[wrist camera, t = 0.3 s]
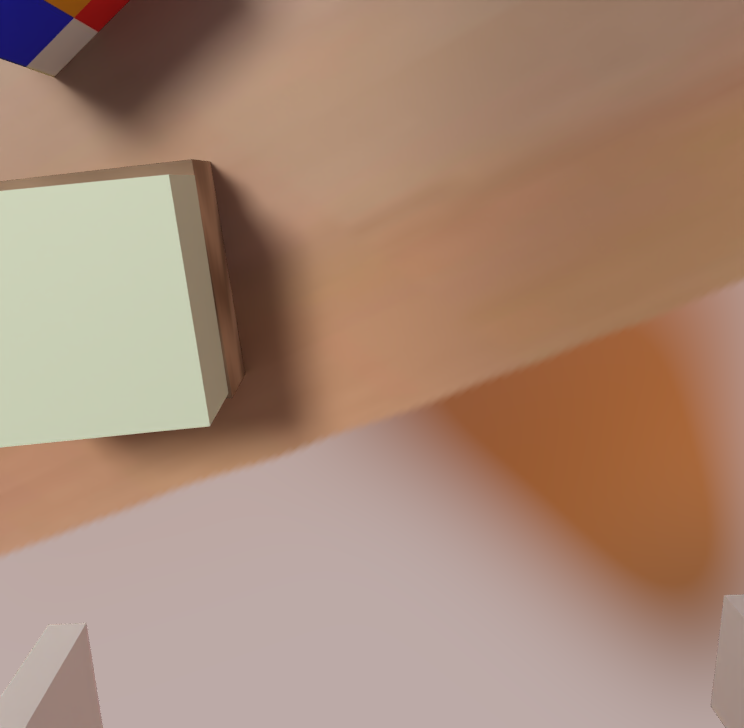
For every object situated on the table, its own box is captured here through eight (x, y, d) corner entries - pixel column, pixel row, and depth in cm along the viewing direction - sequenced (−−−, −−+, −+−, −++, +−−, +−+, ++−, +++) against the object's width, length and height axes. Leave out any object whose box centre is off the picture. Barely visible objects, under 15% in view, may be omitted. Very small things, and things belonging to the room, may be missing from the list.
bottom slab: (-7, 186, 38) (-59, 187, 33) (211, 161, 38) (191, 159, 33) (43, 395, 41) (3, 424, 36) (246, 372, 41) (232, 397, 36)
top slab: (-35, 197, 33) (-100, 200, 28) (194, 175, 33) (168, 174, 29) (17, 414, 36) (-34, 451, 31) (228, 393, 36) (210, 426, 31)
